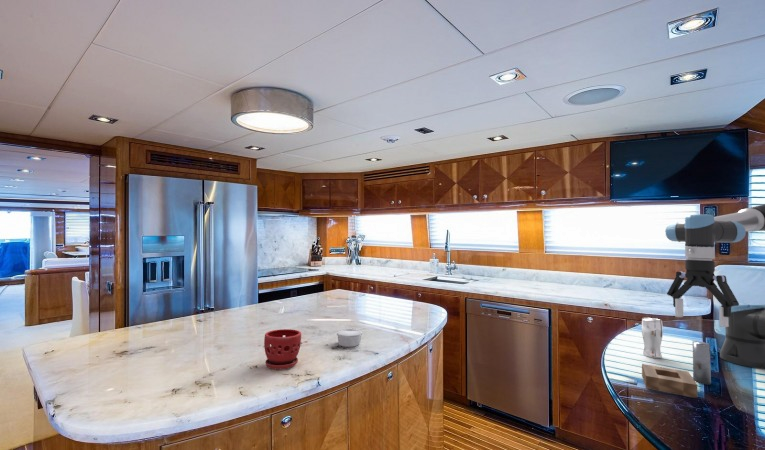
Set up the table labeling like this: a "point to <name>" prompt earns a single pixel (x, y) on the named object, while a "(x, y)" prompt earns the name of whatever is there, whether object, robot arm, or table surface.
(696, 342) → the steel peg
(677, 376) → the socket block
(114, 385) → the table surface
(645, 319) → the beer glass
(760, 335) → the robot arm
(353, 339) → the ramekin
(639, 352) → the table surface
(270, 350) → the plant pot
